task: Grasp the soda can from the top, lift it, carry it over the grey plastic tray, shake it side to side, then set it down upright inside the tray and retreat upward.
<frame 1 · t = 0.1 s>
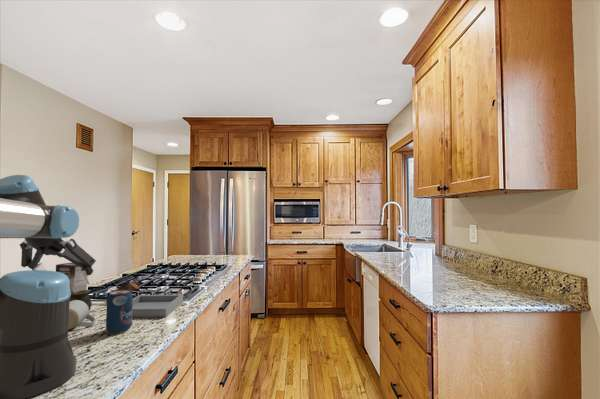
hand: (69, 281, 92), 15 cm above the worktop, tool tilted 35°, fingers open, 13 cm apart
mate gourd: (78, 314, 106), on the worktop
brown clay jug: (130, 298, 127), on the worktop
soda can: (118, 330, 92), on the worktop
tray: (151, 309, 112), on the worktop
ceramic mug: (75, 327, 95), on the worktop
coffee box: (70, 304, 119), on the worktop
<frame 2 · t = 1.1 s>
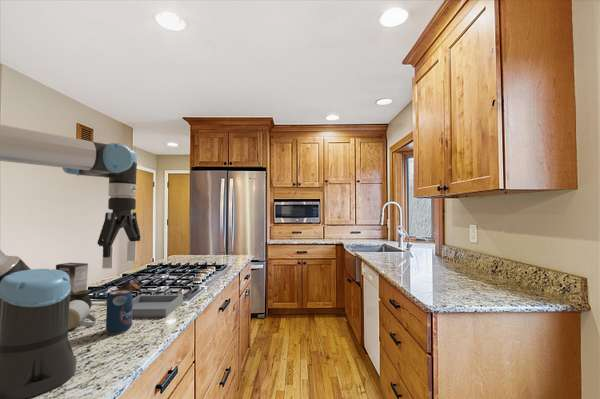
hand: (120, 264, 93), 21 cm above the worktop, tool pointing down, fingers open, 13 cm apart
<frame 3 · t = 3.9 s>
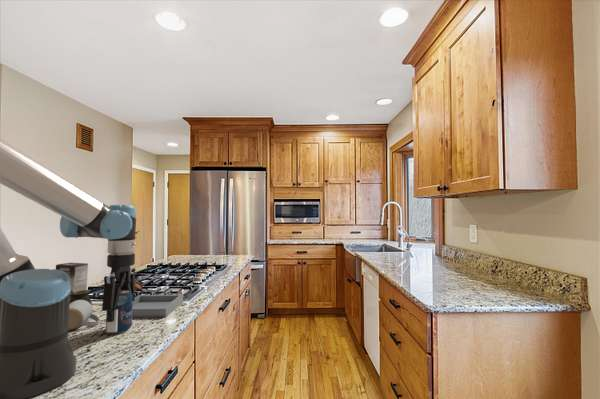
hand: (119, 326, 92), 1 cm above the worktop, tool pointing down, fingers closed on soda can, 7 cm apart
soda can: (119, 330, 92), on the worktop, touching gripper
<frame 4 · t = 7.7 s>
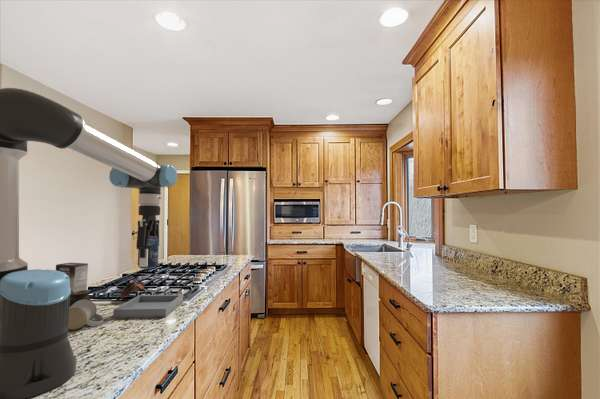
hand: (148, 264, 112), 17 cm above the worktop, tool pointing down, fingers closed on soda can, 7 cm apart
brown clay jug: (135, 299, 126), on the worktop
soda can: (148, 267, 112), point 16 cm above the worktop, touching gripper
ceramic mug: (83, 326, 96), on the worktop
everything else where it was.
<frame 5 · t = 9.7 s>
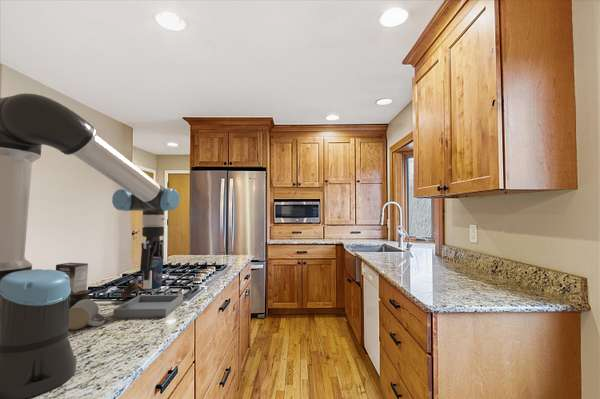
hand: (152, 285, 112), 9 cm above the worktop, tool pointing down, fingers closed on soda can, 7 cm apart
soda can: (152, 288, 112), point 8 cm above the worktop, touching gripper
when the fingers open (3 cm above the worktop, at t = 11.5 s): soda can drops 2 cm, resting on tray.
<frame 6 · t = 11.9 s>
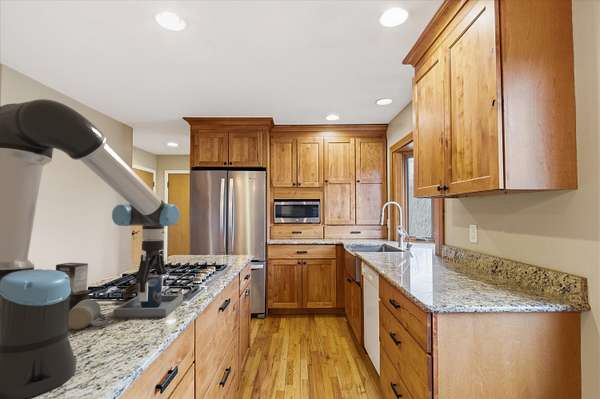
hand: (151, 296, 112), 5 cm above the worktop, tool pointing down, fingers open, 12 cm apart
soda can: (151, 307, 112), point 1 cm above the worktop, touching tray
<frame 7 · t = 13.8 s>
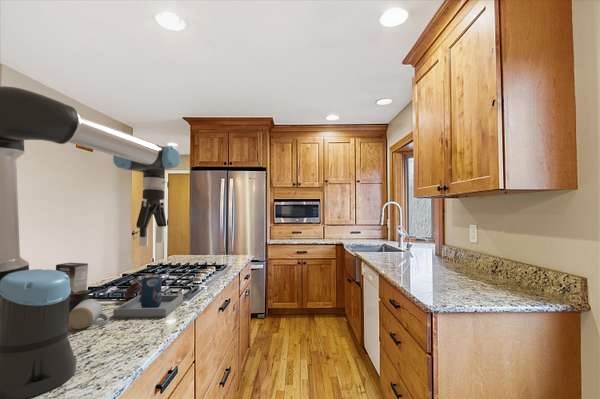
hand: (151, 244, 112), 25 cm above the worktop, tool pointing down, fingers open, 13 cm apart
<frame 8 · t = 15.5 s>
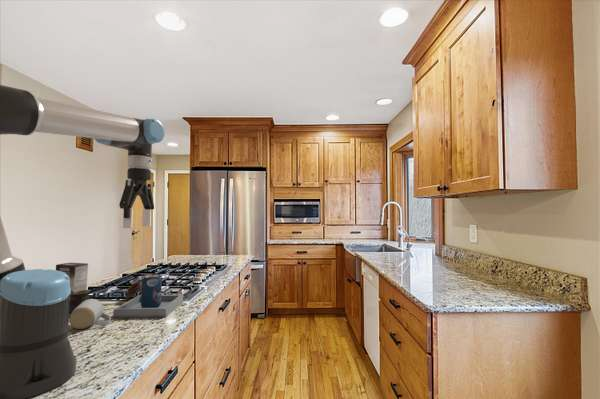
hand: (137, 227, 105), 32 cm above the worktop, tool pointing down, fingers open, 13 cm apart
at the end: soda can inside the target area on the tray (0.1 cm from its centre), point 0.6 cm above the tray's base; soda can tilted 0°; the gripper is holding nothing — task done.
